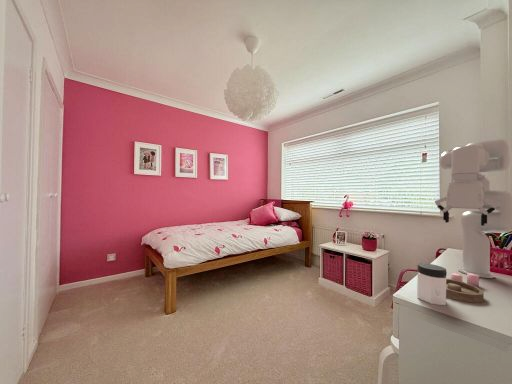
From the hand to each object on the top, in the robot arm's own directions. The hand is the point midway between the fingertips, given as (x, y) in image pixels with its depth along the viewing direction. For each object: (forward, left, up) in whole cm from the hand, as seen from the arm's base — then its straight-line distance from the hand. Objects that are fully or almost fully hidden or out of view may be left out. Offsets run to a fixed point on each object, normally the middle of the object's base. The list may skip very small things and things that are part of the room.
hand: (464, 223), depth 79 cm
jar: (+13, -7, -28) cm, 32 cm away
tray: (-3, -3, -28) cm, 28 cm away
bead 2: (-20, +1, -28) cm, 35 cm away
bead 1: (-14, -3, -28) cm, 31 cm away
